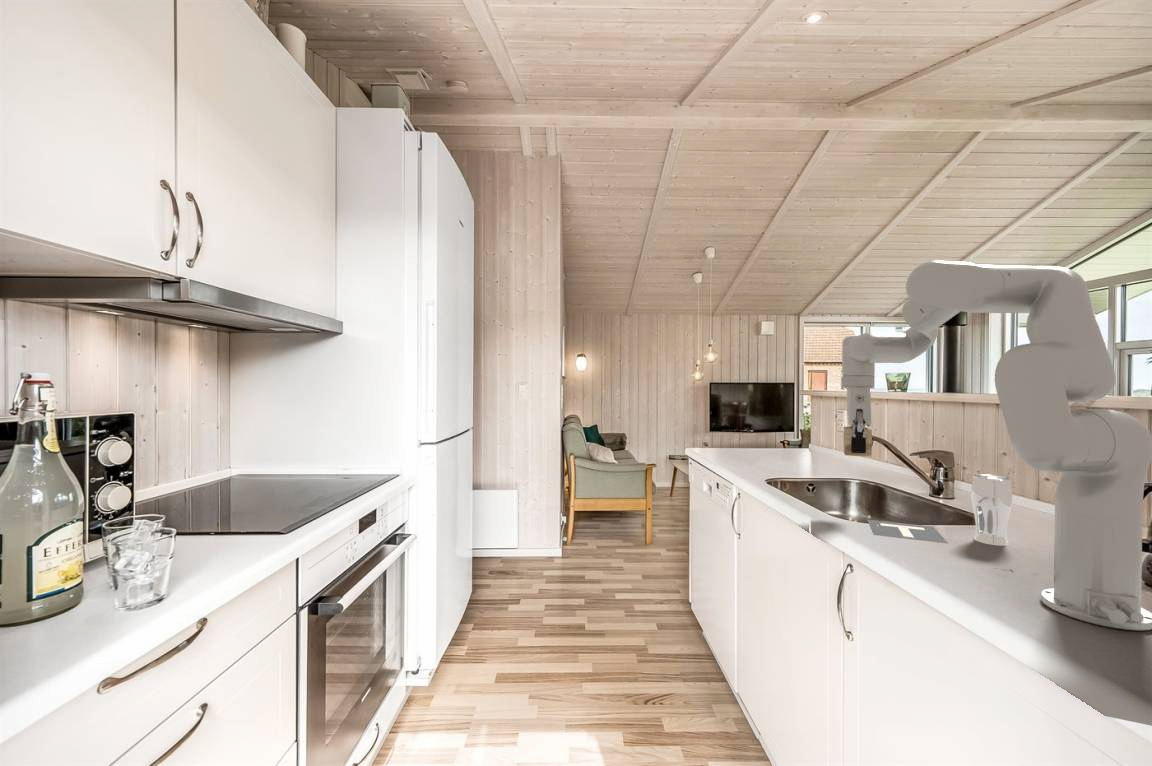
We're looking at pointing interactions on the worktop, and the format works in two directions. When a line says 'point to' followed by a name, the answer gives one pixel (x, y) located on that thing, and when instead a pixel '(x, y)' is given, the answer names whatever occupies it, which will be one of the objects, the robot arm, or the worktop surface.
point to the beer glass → (991, 508)
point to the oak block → (848, 439)
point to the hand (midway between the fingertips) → (857, 450)
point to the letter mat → (906, 531)
